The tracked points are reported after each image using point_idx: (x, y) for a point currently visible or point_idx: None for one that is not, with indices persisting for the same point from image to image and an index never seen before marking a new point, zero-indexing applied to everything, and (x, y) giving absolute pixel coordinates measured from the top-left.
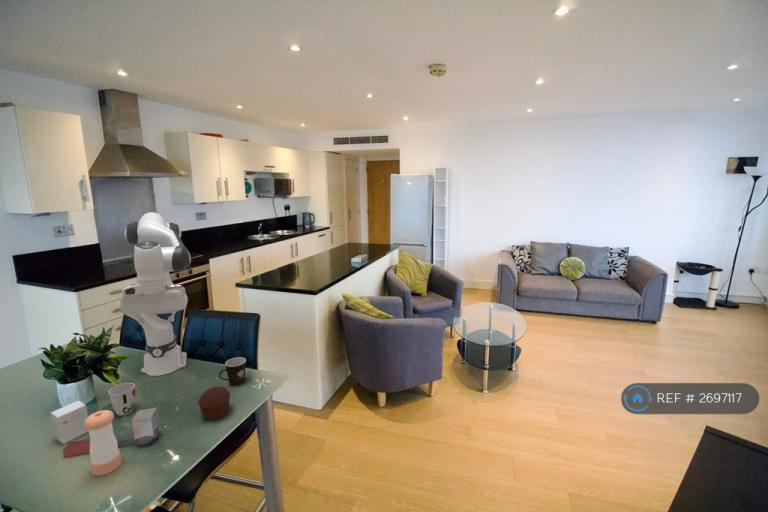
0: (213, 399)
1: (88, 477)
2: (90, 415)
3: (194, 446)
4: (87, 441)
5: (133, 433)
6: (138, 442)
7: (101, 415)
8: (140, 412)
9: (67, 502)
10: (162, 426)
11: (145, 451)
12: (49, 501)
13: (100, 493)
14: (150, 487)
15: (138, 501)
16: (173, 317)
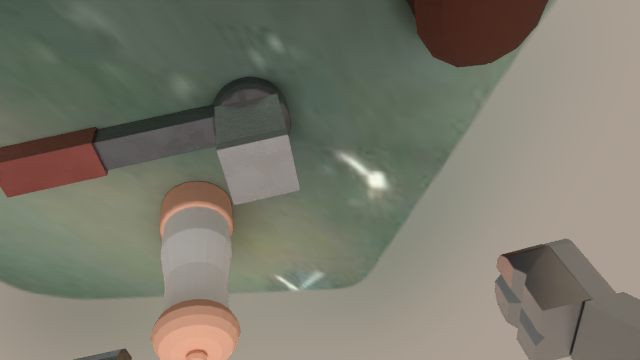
0: (499, 56)
1: None
2: (165, 355)
3: (415, 144)
4: (58, 163)
5: (198, 122)
6: None
7: (212, 356)
8: (236, 163)
9: None
10: (263, 44)
11: None
12: (140, 290)
13: (245, 271)
14: (352, 256)
15: (343, 282)
16: (594, 286)
